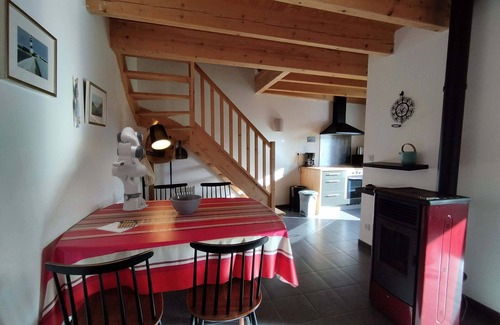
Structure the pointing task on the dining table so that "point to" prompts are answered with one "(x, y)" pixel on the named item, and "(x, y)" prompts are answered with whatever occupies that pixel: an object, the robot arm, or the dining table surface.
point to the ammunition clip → (127, 223)
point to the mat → (115, 227)
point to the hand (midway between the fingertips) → (125, 181)
